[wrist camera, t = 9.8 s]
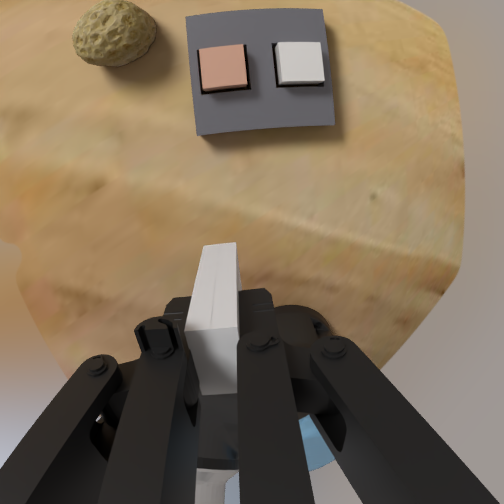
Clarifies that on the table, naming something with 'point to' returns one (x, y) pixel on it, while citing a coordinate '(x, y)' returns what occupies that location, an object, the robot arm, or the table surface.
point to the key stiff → (223, 67)
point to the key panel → (259, 71)
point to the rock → (113, 33)
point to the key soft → (299, 63)
